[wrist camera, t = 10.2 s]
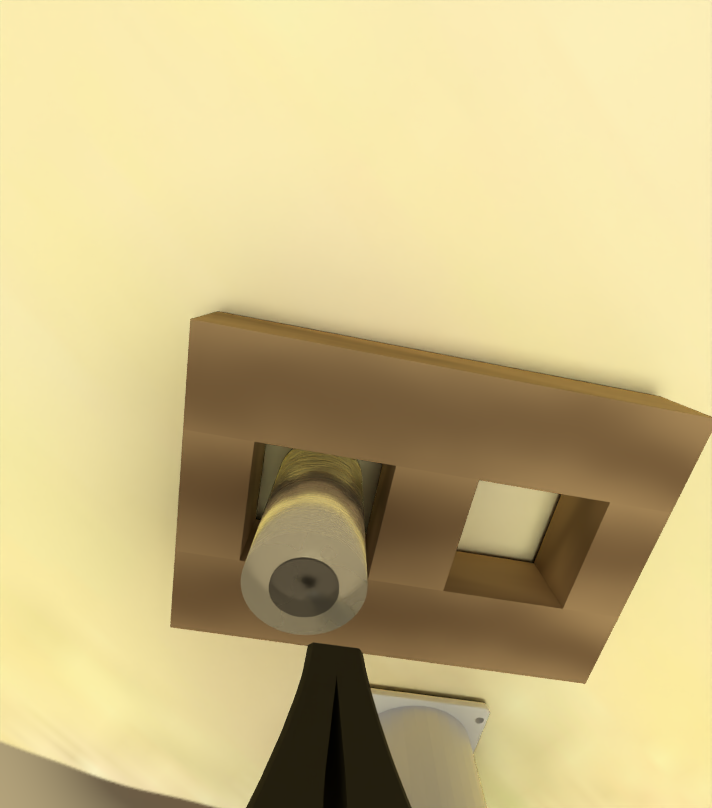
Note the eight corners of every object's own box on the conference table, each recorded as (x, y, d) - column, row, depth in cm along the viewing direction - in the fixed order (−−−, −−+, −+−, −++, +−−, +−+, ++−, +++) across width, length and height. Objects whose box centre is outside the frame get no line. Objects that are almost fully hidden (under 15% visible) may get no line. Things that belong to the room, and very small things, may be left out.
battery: (352, 520, 20) (353, 647, 13) (273, 506, 20) (232, 628, 13) (370, 448, 19) (380, 547, 12) (285, 433, 19) (248, 524, 12)
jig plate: (555, 631, 22) (585, 683, 20) (194, 579, 21) (170, 627, 18) (660, 396, 18) (717, 419, 15) (217, 311, 17) (190, 318, 14)
